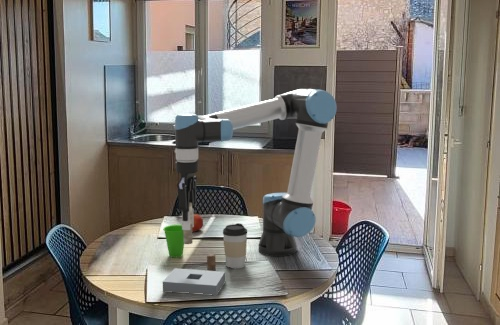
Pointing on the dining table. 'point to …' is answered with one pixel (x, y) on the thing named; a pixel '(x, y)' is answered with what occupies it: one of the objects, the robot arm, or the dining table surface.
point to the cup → (174, 240)
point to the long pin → (189, 232)
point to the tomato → (197, 222)
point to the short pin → (211, 262)
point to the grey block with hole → (194, 281)
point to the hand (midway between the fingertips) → (188, 228)
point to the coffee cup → (235, 245)
